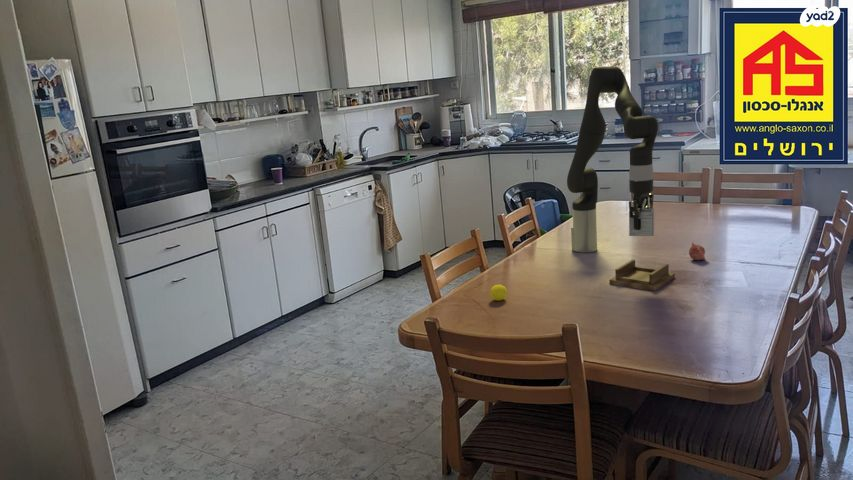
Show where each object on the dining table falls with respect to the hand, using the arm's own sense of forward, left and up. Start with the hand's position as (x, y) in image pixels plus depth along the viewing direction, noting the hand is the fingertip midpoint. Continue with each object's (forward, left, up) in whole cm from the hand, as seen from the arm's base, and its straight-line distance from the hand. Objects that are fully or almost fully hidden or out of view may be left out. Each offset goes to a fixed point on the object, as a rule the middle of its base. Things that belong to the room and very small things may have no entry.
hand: (641, 227), depth 223 cm
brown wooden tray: (0, 0, -19) cm, 19 cm away
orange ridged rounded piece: (+7, +31, -19) cm, 37 cm away
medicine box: (0, 0, -3) cm, 3 cm away
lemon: (-32, -39, -19) cm, 54 cm away
